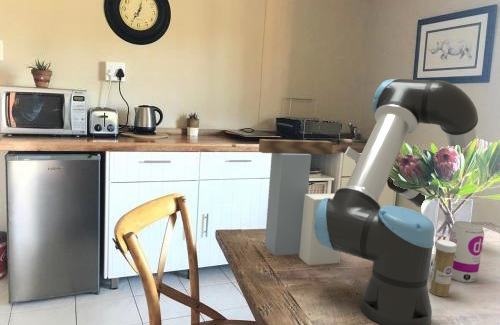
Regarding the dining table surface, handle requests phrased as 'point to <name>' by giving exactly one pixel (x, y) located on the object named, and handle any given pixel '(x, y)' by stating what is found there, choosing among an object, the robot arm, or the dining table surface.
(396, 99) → the robot arm
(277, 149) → the walnut bar
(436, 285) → the sprinkles bottle
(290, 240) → the step stand
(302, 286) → the dining table surface
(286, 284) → the dining table surface
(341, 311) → the dining table surface
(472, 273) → the supplement can
